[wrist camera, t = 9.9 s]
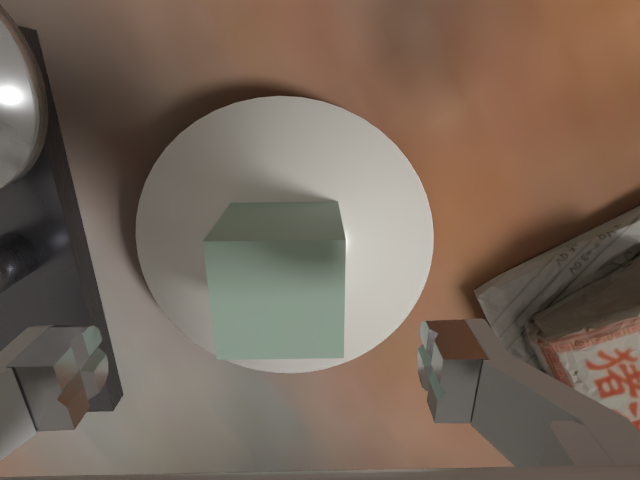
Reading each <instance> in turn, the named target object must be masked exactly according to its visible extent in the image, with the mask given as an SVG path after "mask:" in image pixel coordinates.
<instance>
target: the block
mask: <svg viewBox="0 0 640 480" xmlns="http://www.w3.org/2000/svg"><path fill="white" fill-rule="evenodd" d="M203 250H204V258H205V267H206V275H207V283H208V291H209V299H210V308H211V316H212V324H213V332H214V340H215V349H216V357H217V360H251V359H321V358H344V321H345V262H346V238H345V233H344V228H343V223H342V218H341V214H340V209H339V204H338V202H247V203H230V204H229V206H228V207H227V208H226V210H225V211H224V213H223V214H222V215H221V217H220V218H219V219H218V221H217V222H216V224H215V225H214V226H213V228H212V229H211V230H210V232H209V233H208V235H207V236H206V237H205V239H204V240H203Z"/></svg>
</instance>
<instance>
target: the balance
mask: <svg viewBox="0 0 640 480" xmlns="http://www.w3.org/2000/svg"><path fill="white" fill-rule="evenodd" d="M43 325H52V326H55V325H80V326H95V327H97V328H98V329H99V331H100V334H101V337H102V341H101V343H100V345H99V348H100V349H101V350H102V351H103V352H104V353H105V354H106V355H107V359H108V375H107V379H106V383H105V385H104V386H103V388H102V390H101V391H100V393H98V394H97V395H95V396H94V397H92V398H91V399H89V400H88V402H89V406H90V408H89V409H88V411H87V412H97V411H113V410H114V409H115V407H116V406H117V404H118V402H119V401H120V399H121V398H122V396H123V392H122V387H121V383H120V379H119V375H118V371H117V366H116V362H115V358H114V354H113V350H112V345H111V341H110V337H109V333H108V329H107V324H106V320H105V316H104V312H103V308H102V303H101V299H100V295H99V291H98V287H97V282H96V278H95V274H94V270H93V266H92V261H91V257H90V253H89V249H88V245H87V240H86V236H85V232H84V228H83V224H82V219H81V215H80V211H79V207H78V203H77V198H76V194H75V190H74V186H73V182H72V177H71V173H70V169H69V165H68V161H67V156H66V152H65V148H64V144H63V140H62V135H61V131H60V127H59V123H58V119H57V114H56V110H55V106H54V102H53V98H52V93H51V89H50V85H49V81H48V77H47V72H46V68H45V64H44V60H43V56H42V51H41V47H40V43H39V39H38V35H37V31H36V30H31V29H26V28H22V27H18V26H17V25H16V24H15V22H14V21H13V19H12V18H11V17H10V16H9V15H8V13H7V12H6V11H5V10H4V9H3V8H2V6H1V5H0V351H2V350H3V349H4V348H5V347H6V346H7V345H8V344H10V343H11V342H12V341H13V340H14V339H15V338H16V337H18V336H19V335H20V334H21V333H22V332H23V331H24V330H26V329H27V328H28V327H32V326H43Z"/></svg>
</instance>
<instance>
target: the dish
mask: <svg viewBox="0 0 640 480" xmlns="http://www.w3.org/2000/svg"><path fill="white" fill-rule="evenodd" d="M247 202H338V204H339V209H340V214H341V218H342V223H343V228H344V233H345V238H346V262H345V321H344V358H321V359H251V360H226V361H229V362H232V363H234V364H237V365H240V366H243V367H247V368H251V369H255V370H260V371H267V372H275V373H300V372H310V371H316V370H322V369H326V368H330V367H333V366H336V365H340V364H343V363H345V362H347V361H350V360H352V359H354V358H357V357H359V356H360V355H362V354H364V353H366V352H368V351H369V350H371V349H373V348H374V347H375V346H377V345H378V344H379V343H381V342H382V341H384V340H385V339H386V338H387V337H388V336H389V335H390V334H391V333H393V332H394V331H395V330H396V329H397V328H398V327H399V326H400V324H401V323H402V322H403V321H404V320H405V318H406V317H407V316H408V315H409V313H410V312H411V310H412V309H413V307H414V305H415V304H416V302H417V301H418V299H419V297H420V294H421V292H422V290H423V288H424V286H425V283H426V280H427V277H428V274H429V271H430V267H431V261H432V255H433V240H434V231H433V222H432V214H431V210H430V206H429V202H428V199H427V195H426V193H425V191H424V188H423V186H422V183H421V181H420V179H419V177H418V175H417V174H416V172H415V170H414V169H413V167H412V165H411V164H410V162H409V160H408V159H407V158H406V157H405V156H404V154H403V153H402V152H401V151H400V149H399V148H398V147H397V146H396V145H395V144H394V143H393V142H392V141H391V140H390V139H389V138H388V137H387V136H386V135H385V134H383V133H382V132H381V131H380V130H379V129H377V128H376V127H374V126H373V125H371V124H370V123H369V122H367V121H366V120H364V119H363V118H361V117H359V116H357V115H355V114H353V113H352V112H350V111H348V110H346V109H344V108H341V107H338V106H335V105H333V104H330V103H327V102H324V101H320V100H315V99H310V98H305V97H295V96H270V97H259V98H254V99H249V100H245V101H241V102H236V103H233V104H230V105H228V106H225V107H223V108H220V109H217V110H215V111H213V112H211V113H209V114H208V115H206V116H204V117H202V118H200V119H199V120H197V121H195V122H194V123H193V124H192V125H190V126H189V127H188V128H186V129H185V130H184V131H182V132H181V133H180V134H179V135H178V136H177V137H176V138H175V139H174V140H173V141H172V142H171V143H170V144H169V145H168V146H167V147H166V148H165V150H164V151H163V153H162V154H161V155H160V157H159V158H158V160H157V161H156V162H155V164H154V166H153V167H152V169H151V171H150V173H149V175H148V177H147V179H146V181H145V184H144V187H143V190H142V193H141V196H140V199H139V204H138V210H137V216H136V245H137V253H138V258H139V262H140V266H141V269H142V273H143V276H144V278H145V280H146V283H147V285H148V288H149V290H150V292H151V293H152V295H153V297H154V299H155V300H156V302H157V304H158V305H159V307H160V308H161V309H162V311H163V312H164V313H165V315H166V316H167V317H168V319H169V320H170V321H171V322H172V323H173V324H174V325H175V326H176V327H177V328H178V329H179V330H180V331H181V332H182V333H183V334H184V335H186V336H187V337H188V338H189V339H191V340H192V341H193V342H194V343H196V344H197V345H199V346H200V347H202V348H203V349H205V350H207V351H208V352H210V353H212V354H214V355H216V349H215V340H214V332H213V324H212V316H211V308H210V299H209V291H208V283H207V275H206V267H205V258H204V250H203V240H204V239H205V237H206V236H207V235H208V233H209V232H210V230H211V229H212V228H213V226H214V225H215V224H216V222H217V221H218V219H219V218H220V217H221V215H222V214H223V213H224V211H225V210H226V208H227V207H228V206H229V204H230V203H247Z"/></svg>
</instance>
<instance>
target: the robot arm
mask: <svg viewBox="0 0 640 480" xmlns="http://www.w3.org/2000/svg"><path fill="white" fill-rule="evenodd" d="M420 337H421V340H422V342H423V344H422V346H421V347H420V348H419V349H418V356H417V366H418V374H419V379H420V382H421V385H422V388H424V389H425V390H426V391H428V395H427V403H428V406H429V409H430V411H431V414H432V417H433V420H434V423H471V426H473V427H474V428H475V429H476V430H477V431H478V432H479V433H480V434H481V435H482V436H483V437H484V438H485V439H486V440H488V441H489V442H490V443H491V444H492V445H493V446H494V447H495V448H496V449H497V450H498V451H499V452H500V453H501V454H503V455H504V456H505V457H506V458H507V459H508V460H509V461H510V462H511V463H512V464H513V465H514V466H515V467H483V468H441V469H390V470H334V471H278V472H229V473H181V474H133V475H83V476H31V477H0V480H640V432H639V431H638V429H637V428H636V427H635V426H634V425H633V424H632V423H631V422H630V421H629V420H628V418H626V417H624V416H622V415H620V414H618V413H617V412H615V411H613V410H611V409H609V408H607V407H606V406H604V405H602V404H600V403H598V402H597V401H595V400H593V399H591V398H589V397H587V396H586V395H584V394H582V393H580V392H578V391H576V390H575V389H573V388H571V387H569V386H567V385H565V384H564V383H562V382H560V381H558V380H556V379H554V378H553V377H551V376H549V375H547V374H545V373H543V372H542V371H540V370H538V369H536V368H534V367H533V366H531V365H529V364H527V363H525V362H523V361H522V360H520V359H512V357H511V356H510V354H509V353H508V352H507V350H506V349H505V347H504V346H503V344H502V343H501V342H500V340H499V339H498V337H497V336H496V335H495V333H494V332H493V330H492V329H491V328H490V326H489V325H488V323H487V322H486V321H485V320H484V319H482V318H477V319H462V320H435V321H422V323H421V327H420ZM101 341H102V337H101V334H100V331H99V329H98V328H97V327H95V326H80V325H55V326H52V325H43V326H32V327H28V328H27V329H26V330H24V331H23V332H22V333H21V334H20V335H19V336H18V337H16V338H15V339H14V340H13V341H12V342H11V343H10V344H8V345H7V346H6V347H5V348H4V349H3V350H2V351H0V461H1V460H2V459H3V458H5V457H6V456H7V455H9V454H10V453H11V452H13V451H14V450H15V449H17V448H18V447H19V446H21V445H22V444H23V443H25V442H26V441H27V440H29V439H30V438H31V437H33V436H34V435H35V434H36V433H37V432H36V431H57V430H75V428H76V427H77V425H78V424H79V422H80V421H81V419H82V418H83V416H84V415H85V413H86V412H87V411H88V409H89V408H90V406H89V402H88V400H89V399H91V398H92V397H94V396H95V395H97V394H98V393H100V391H101V390H102V388H103V386H104V385H105V383H106V379H107V375H108V359H107V355H106V354H105V353H104V352H103V351H102V350H101V349H100V348H99V345H100V343H101Z"/></svg>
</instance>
